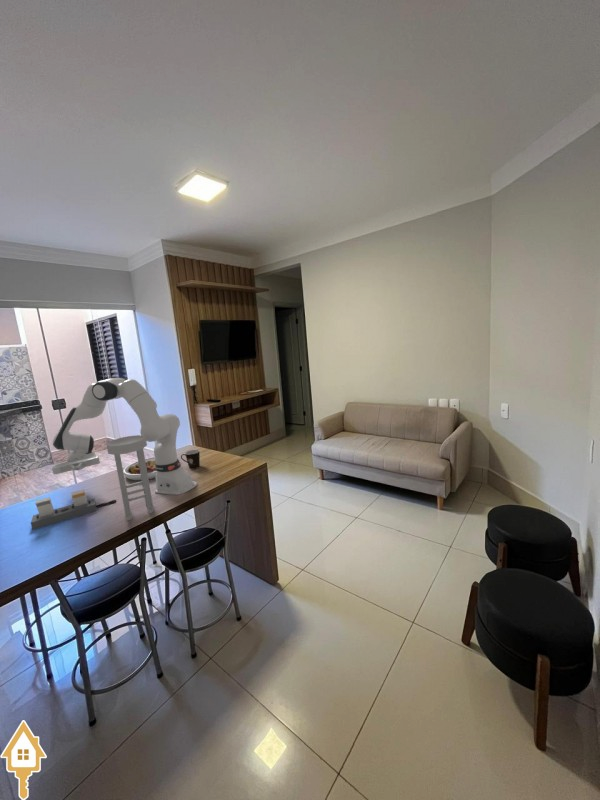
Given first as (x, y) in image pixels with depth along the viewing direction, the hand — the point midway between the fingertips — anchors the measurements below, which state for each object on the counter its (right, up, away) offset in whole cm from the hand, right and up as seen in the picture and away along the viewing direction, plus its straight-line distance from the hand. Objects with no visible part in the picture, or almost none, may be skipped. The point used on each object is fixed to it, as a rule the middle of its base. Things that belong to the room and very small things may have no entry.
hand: (76, 468), depth 158 cm
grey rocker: (-3, -18, -14) cm, 23 cm away
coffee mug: (+45, -8, +42) cm, 62 cm away
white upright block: (+7, -15, -7) cm, 19 cm away
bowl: (+20, -11, +39) cm, 45 cm away
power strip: (+6, -20, -8) cm, 22 cm away
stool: (+37, -18, -10) cm, 43 cm away
